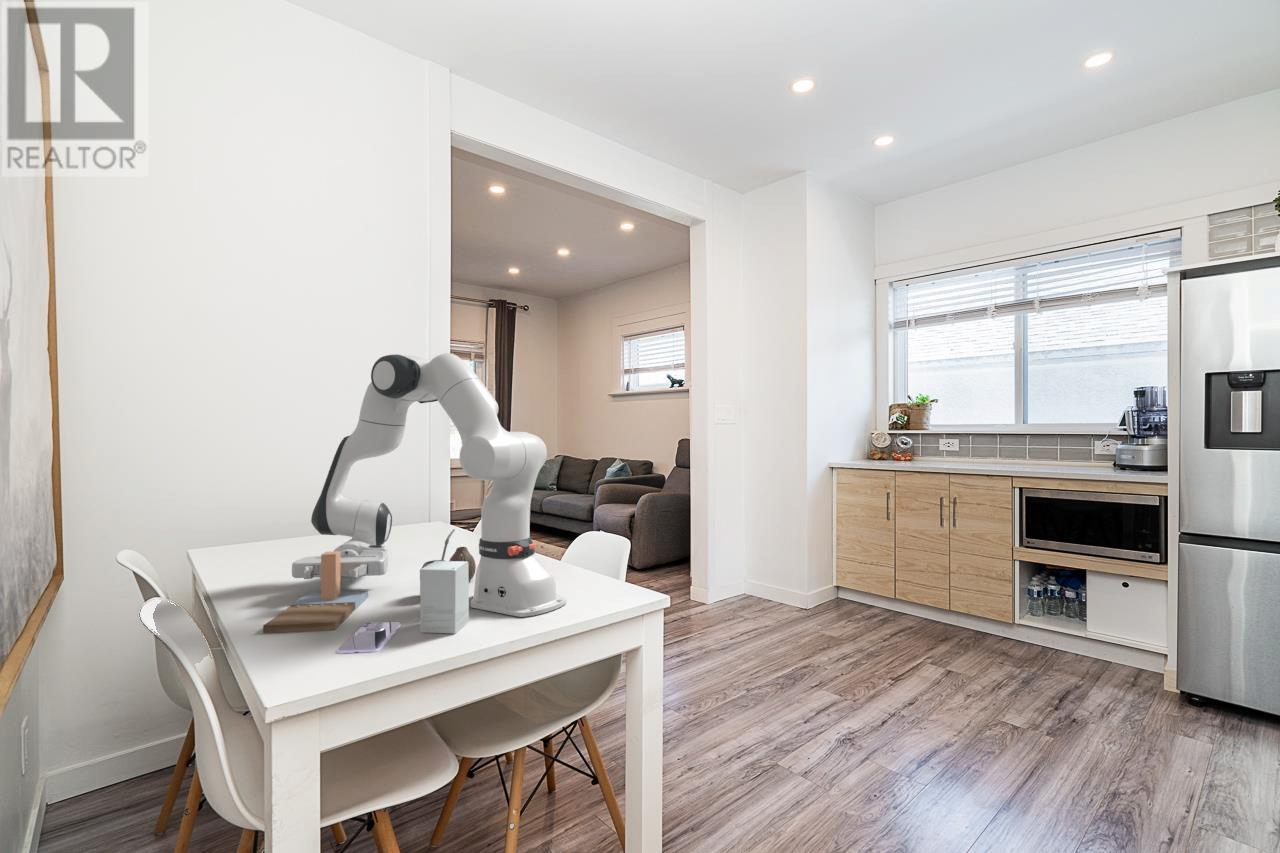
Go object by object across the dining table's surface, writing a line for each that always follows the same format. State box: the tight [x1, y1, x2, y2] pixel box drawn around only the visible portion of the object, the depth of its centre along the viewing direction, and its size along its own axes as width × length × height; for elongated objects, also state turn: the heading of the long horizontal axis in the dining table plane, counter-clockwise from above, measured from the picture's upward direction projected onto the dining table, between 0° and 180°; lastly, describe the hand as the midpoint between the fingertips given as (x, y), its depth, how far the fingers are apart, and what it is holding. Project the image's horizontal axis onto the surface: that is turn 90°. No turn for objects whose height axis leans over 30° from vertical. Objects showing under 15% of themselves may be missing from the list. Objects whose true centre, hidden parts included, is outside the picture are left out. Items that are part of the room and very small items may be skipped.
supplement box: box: [419, 560, 470, 634], centre depth 117 cm, size 7×7×13 cm
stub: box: [290, 550, 369, 610], centre depth 131 cm, size 9×13×12 cm
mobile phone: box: [336, 621, 402, 655], centre depth 111 cm, size 8×1×15 cm
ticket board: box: [262, 603, 356, 634], centre depth 120 cm, size 12×13×2 cm
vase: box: [448, 546, 477, 582], centre depth 151 cm, size 7×7×9 cm
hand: (329, 574), depth 130 cm, fingers open, 8 cm apart
